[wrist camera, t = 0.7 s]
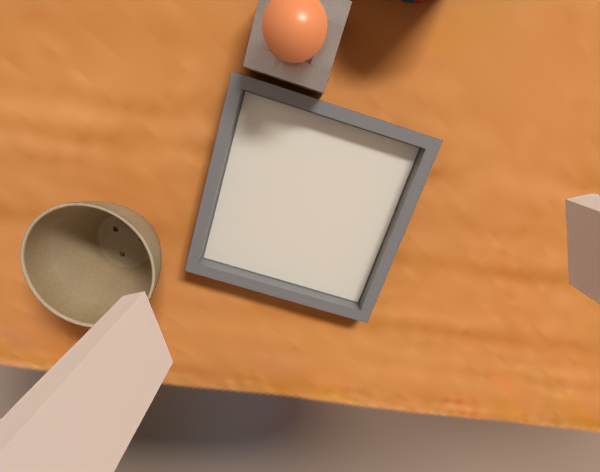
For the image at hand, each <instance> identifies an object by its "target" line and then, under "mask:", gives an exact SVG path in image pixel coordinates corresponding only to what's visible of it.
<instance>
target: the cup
mask: <svg viewBox="0 0 600 472" xmlns="http://www.w3.org/2000/svg"><path fill="white" fill-rule="evenodd" d="M402 1H407V2H422V1H426V0H402Z"/></svg>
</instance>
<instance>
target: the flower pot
mask: <svg viewBox="0 0 600 472" xmlns="http://www.w3.org/2000/svg"><path fill="white" fill-rule="evenodd" d="M114 229H116V231H115V230H114ZM123 253H125V255H123ZM20 256H21V266H22V270H23V274H24V277H25V279H26V282H27V283H28V286H29V287H30V289H31V290H32V292H33V294H34V295H35V296H36V297H37V299H38V300H39V301H40V302H41V303H42V304H43V305H44V306H45V307H46V308H47V309H49V310H50V311H51V312H52V313H54V314H55V315H57V316H58V317H60V318H62V319H64V320H66V321H68V322H71V323H74V324H77V325H80V326H85V327H93V325H94V324H95V323H96V322H97V321H98V320H99V319H100V318H101V317H102V316H103V315H104V314H105V313H106V312H107V311H108V310H109V309H110V308H111V307H112V306H113V305H114V304H115V303H116V302H117V301H118V300H119V299H120V298H121V297H122V296H125V295H129V294H134V293H138V292H143V291H145V293H146V295H147V298H148V300H150V298H151V296H152V294H153V292H154V290H155V287H156V285H157V282H158V278H159V275H160V270H161V247H160V242H159V239H158V236H157V234H156V232H155V230H154V228H153V227H152V226H151V224H150V223H149V222H148V221H147V220H146V219H145V218H144V217H143V216H141V215H140V214H138V213H137V212H135V211H133V210H131V209H129V208H127V207H124V206H121V205H118V204H113V203H108V202H100V201H81V202H73V203H67V204H62V205H58V206H55V207H53V208H50V209H48V210H46V211H45V212H43V213H42V214H40V215H39V216H38V217H37V218H36V219H35V220H34V221H33V222H32V223H31V224H30V226H29V227H28V229H27V231H26V233H25V235H24V237H23V241H22V245H21V255H20Z"/></svg>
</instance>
